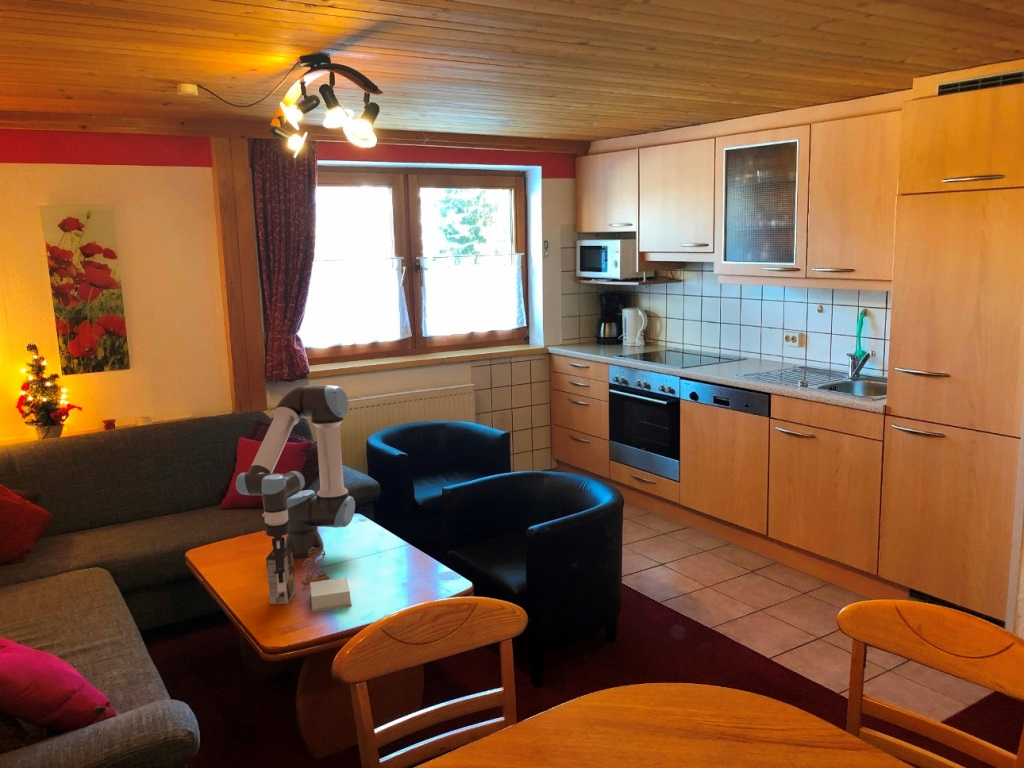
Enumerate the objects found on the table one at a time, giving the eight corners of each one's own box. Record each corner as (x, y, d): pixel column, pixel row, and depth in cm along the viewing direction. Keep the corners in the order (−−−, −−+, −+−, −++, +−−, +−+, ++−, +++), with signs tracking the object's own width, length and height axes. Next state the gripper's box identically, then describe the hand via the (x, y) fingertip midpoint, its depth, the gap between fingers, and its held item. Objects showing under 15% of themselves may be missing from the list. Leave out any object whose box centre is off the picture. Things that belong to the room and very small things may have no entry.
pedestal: (310, 596, 273) (309, 582, 272) (348, 590, 276) (347, 576, 275) (311, 611, 261) (310, 597, 260) (351, 606, 264) (350, 591, 263)
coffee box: (278, 592, 277) (274, 547, 274) (296, 592, 276) (293, 547, 274) (269, 604, 268) (265, 557, 265) (288, 604, 267) (284, 557, 265)
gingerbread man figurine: (304, 585, 283) (301, 552, 281) (301, 581, 286) (298, 548, 284) (329, 579, 287) (327, 546, 285) (326, 575, 290) (323, 543, 288)
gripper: (265, 512, 279) (270, 571, 282) (264, 535, 255) (269, 599, 258) (288, 509, 281) (292, 568, 284) (289, 532, 257) (294, 596, 260)
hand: (281, 583), depth 271 cm, fingers open, 13 cm apart
